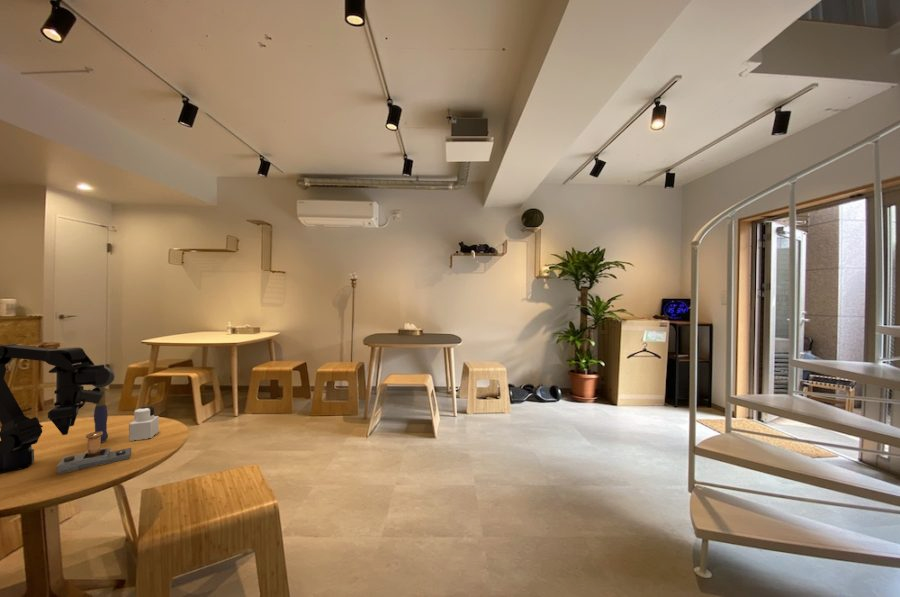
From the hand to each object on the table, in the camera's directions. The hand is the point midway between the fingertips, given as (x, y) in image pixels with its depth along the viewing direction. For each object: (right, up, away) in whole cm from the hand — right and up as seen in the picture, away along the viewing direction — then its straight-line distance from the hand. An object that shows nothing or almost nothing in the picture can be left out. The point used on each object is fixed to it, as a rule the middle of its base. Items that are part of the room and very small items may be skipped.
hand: (68, 430), depth 116 cm
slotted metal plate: (+8, -12, +1) cm, 14 cm away
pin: (+8, -12, +1) cm, 14 cm away
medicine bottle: (+5, -12, +23) cm, 26 cm away
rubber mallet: (-7, -12, +18) cm, 23 cm away
